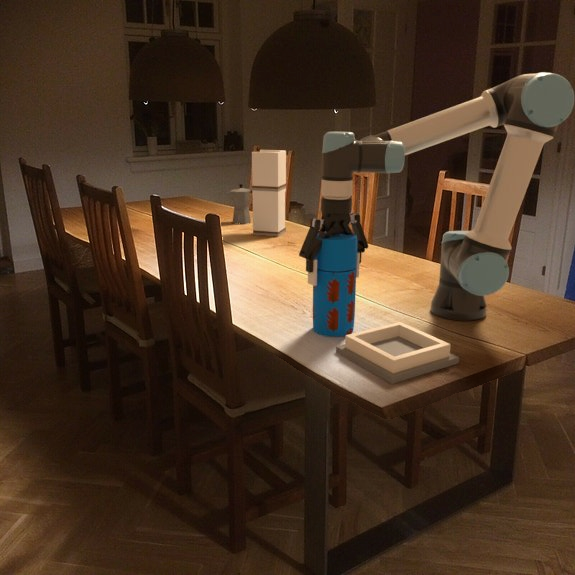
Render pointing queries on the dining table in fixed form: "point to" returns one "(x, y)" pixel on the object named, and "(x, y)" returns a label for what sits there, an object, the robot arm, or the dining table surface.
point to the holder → (397, 352)
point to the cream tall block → (269, 192)
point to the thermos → (335, 286)
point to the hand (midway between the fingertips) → (333, 280)
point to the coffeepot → (241, 204)
